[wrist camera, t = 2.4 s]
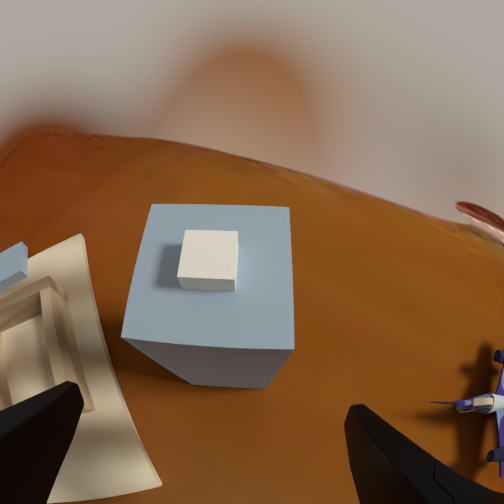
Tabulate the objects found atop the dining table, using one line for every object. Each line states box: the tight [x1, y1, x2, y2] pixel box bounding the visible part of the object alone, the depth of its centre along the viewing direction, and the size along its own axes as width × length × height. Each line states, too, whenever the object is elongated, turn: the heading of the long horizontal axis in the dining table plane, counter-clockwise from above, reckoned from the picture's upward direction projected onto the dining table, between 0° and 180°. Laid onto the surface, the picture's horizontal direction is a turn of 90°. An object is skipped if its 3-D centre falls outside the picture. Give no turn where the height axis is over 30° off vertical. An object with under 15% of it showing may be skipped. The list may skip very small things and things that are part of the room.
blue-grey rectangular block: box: [121, 204, 294, 389], centre depth 14 cm, size 5×5×13 cm
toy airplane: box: [431, 350, 504, 477], centre depth 15 cm, size 13×14×4 cm
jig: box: [0, 233, 162, 503], centre depth 16 cm, size 22×14×4 cm, turn 26°
